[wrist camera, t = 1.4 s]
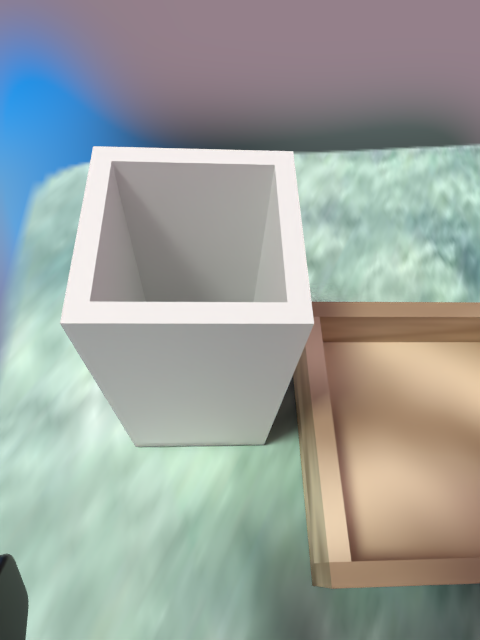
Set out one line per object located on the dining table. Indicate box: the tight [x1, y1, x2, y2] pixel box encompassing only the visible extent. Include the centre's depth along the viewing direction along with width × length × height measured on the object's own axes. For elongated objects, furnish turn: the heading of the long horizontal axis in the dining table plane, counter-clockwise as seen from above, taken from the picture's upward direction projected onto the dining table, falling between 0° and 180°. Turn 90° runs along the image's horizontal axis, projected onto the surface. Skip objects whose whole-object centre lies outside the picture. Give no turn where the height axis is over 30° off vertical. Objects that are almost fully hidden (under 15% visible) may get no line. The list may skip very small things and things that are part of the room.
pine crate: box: [293, 302, 480, 589], centre depth 20 cm, size 12×12×4 cm
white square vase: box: [60, 147, 314, 447], centre depth 17 cm, size 6×6×12 cm
